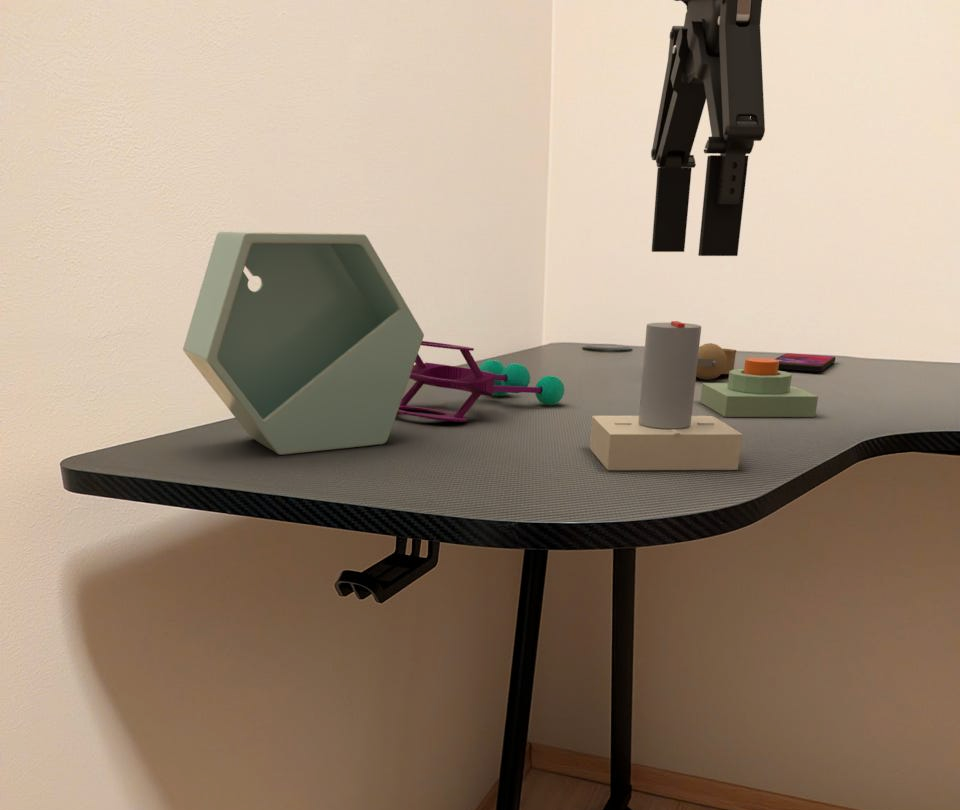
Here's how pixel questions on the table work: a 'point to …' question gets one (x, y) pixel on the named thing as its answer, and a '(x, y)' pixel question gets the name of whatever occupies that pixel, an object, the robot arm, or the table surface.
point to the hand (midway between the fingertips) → (690, 254)
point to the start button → (761, 366)
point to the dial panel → (665, 445)
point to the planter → (304, 339)
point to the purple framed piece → (476, 382)
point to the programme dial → (669, 374)
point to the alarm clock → (714, 361)
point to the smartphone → (804, 362)
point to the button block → (758, 396)
